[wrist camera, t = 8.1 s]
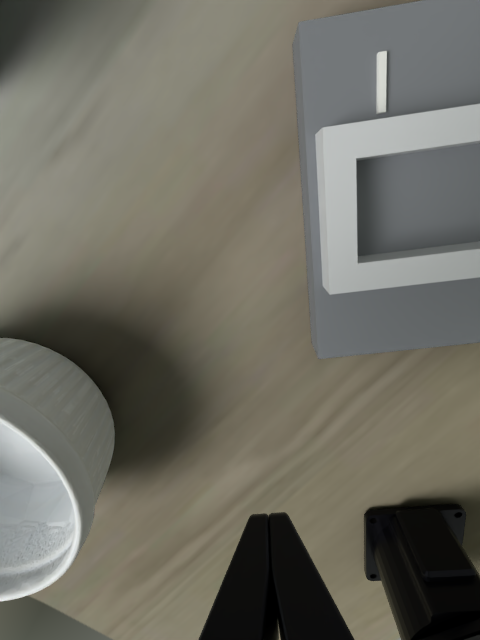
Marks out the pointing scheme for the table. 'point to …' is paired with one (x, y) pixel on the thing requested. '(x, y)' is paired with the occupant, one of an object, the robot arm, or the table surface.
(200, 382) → the table surface
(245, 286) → the table surface
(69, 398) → the ramekin
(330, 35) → the console
